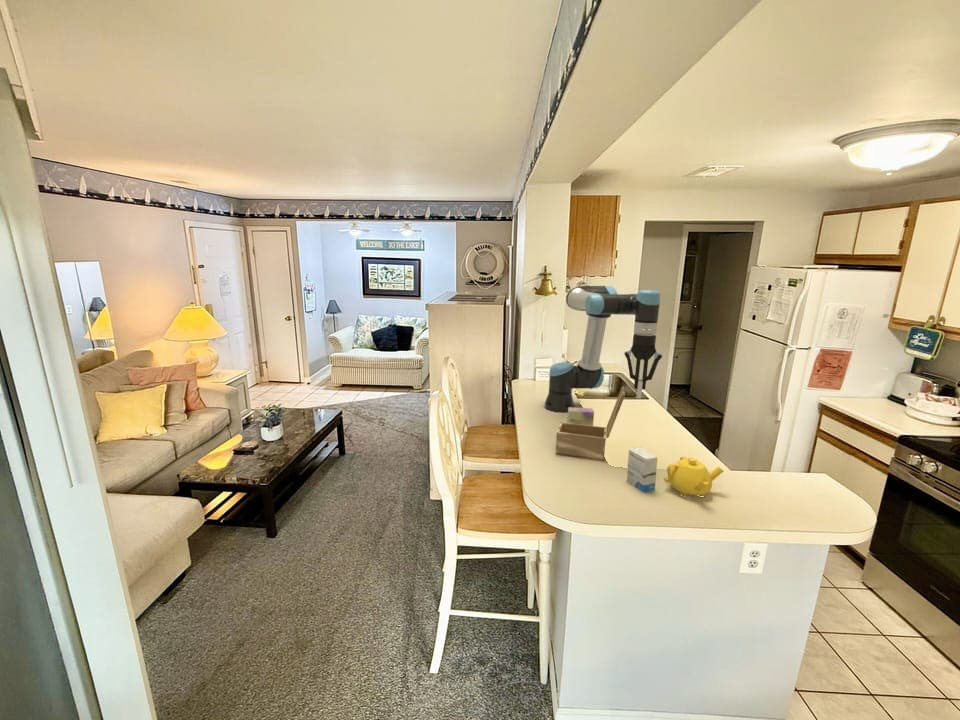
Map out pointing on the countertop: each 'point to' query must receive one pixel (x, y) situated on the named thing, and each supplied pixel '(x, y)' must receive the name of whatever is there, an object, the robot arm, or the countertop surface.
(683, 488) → the teapot
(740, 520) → the countertop surface
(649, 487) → the ink box
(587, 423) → the box
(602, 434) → the brown wooden crate
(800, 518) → the countertop surface
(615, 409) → the lid
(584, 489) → the countertop surface
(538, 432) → the countertop surface
